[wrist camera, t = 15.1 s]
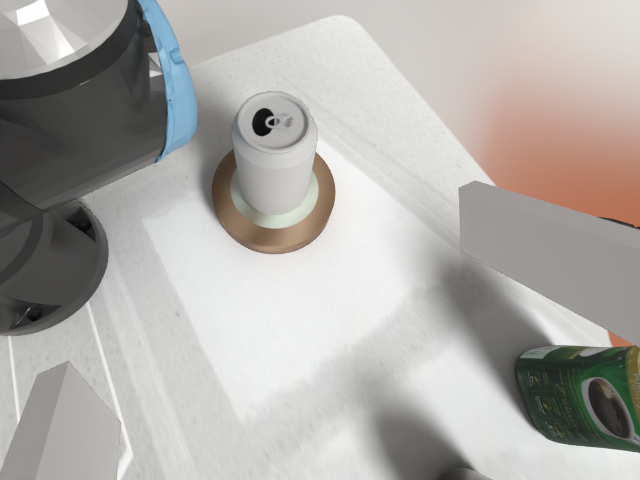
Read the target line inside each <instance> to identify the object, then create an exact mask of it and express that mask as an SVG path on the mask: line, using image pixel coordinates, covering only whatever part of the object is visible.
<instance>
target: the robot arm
mask: <svg viewBox="0 0 640 480" xmlns="http://www.w3.org/2000/svg"><path fill="white" fill-rule="evenodd" d="M197 124H198V109H197V101H196V96H195V91H194V87H193V83H192V80H191V76H190V73H189V70H188V67H187V65H186V63H185V62H184V60H183V59H182V58H181V56H180V50H179V44H178V42H177V39H176V37H175V34H174V33H173V30H172V28H171V26H170V24H169V22H168V20H167V18H166V16H165V14H164V12H163V11H162V9H161V7H160V6H159V4H158V3H157V1H156V0H0V335H2V336H19V335H26V334H31V333H35V332H39V331H42V330H45V329H47V328H50V327H52V326H54V325H56V324H58V323H60V322H62V321H64V320H65V319H67V318H68V317H70V316H71V315H72V314H74V313H75V312H76V311H78V310H79V309H80V308H81V307H82V306H83V305H84V304H85V303H86V302H87V301H88V300H89V299H90V297H91V296H92V295H93V293H94V292H95V291H96V289H97V288H98V286H99V284H100V282H101V280H102V278H103V276H104V273H105V270H106V267H107V262H108V241H107V237H106V234H105V231H104V229H103V227H102V225H101V224H100V222H99V221H98V220H97V218H96V217H95V216H94V215H93V214H92V213H91V212H90V211H88V210H87V209H86V208H85V207H84V206H82V205H81V204H80V203H79V202H77V201H76V200H75V199H77V198H79V197H82V196H84V195H86V194H88V193H90V192H92V191H95V190H97V189H99V188H101V187H103V186H105V185H108V184H110V183H112V182H114V181H116V180H119V179H121V178H123V177H125V176H127V175H129V174H132V173H134V172H136V171H138V170H140V169H142V168H145V167H147V166H149V165H151V164H153V163H158V162H160V161H161V160H163V159H164V158H165V157H166V155H168V154H170V153H171V152H173V151H175V150H177V149H179V148H180V147H182V146H184V145H186V144H187V143H188V142H189V141H190V140H191V139H192V138H193V136H194V134H195V132H196V129H197ZM459 210H460V238H461V252H463V253H465V254H467V255H469V256H471V257H473V258H474V259H476V260H478V261H480V262H482V263H484V264H486V265H487V266H489V267H491V268H493V269H495V270H497V271H499V272H500V273H502V274H504V275H506V276H508V277H510V278H512V279H513V280H515V281H517V282H519V283H521V284H523V285H525V286H526V287H528V288H530V289H532V290H534V291H536V292H538V293H539V294H541V295H543V296H545V297H547V298H549V299H551V300H552V301H554V302H556V303H558V304H560V305H562V306H564V307H565V308H567V309H569V310H571V311H573V312H575V313H577V314H578V315H580V316H582V317H584V318H586V319H588V320H590V321H591V322H593V323H595V324H597V325H599V326H601V327H603V328H604V329H606V330H608V331H610V332H612V333H614V334H616V335H618V336H619V337H621V338H623V339H625V340H627V341H629V342H630V343H633V344H634V345H636V346H638V347H640V227H634V225H632V224H628V223H624V222H621V221H618V220H614V219H610V218H601V217H595V216H591V215H588V214H585V213H581V212H578V211H575V210H572V209H568V208H565V207H561V206H558V205H555V204H551V203H548V202H545V201H541V200H538V199H535V198H531V197H528V196H525V195H521V194H518V193H515V192H511V191H508V190H505V189H501V188H498V187H495V186H491V185H488V184H485V183H481V182H478V181H473V182H471V183H469V184H466V185H464V186H462V187H460V188H459ZM120 432H121V422H120V420H119V419H118V418H117V417H116V416H115V414H114V413H113V412H112V411H111V410H110V409H109V407H108V406H107V405H106V404H105V403H104V401H103V400H102V399H101V398H100V397H99V396H98V394H97V393H96V392H95V391H94V390H93V388H92V387H91V386H90V385H89V384H88V382H87V381H86V380H85V379H84V378H83V377H82V375H81V374H80V373H79V372H78V371H77V369H76V368H75V367H74V366H73V365H72V364H71V362H70V361H67V362H65V363H62V364H60V365H58V366H56V367H53V368H51V369H49V370H47V371H44V372H42V373H40V374H38V375H37V377H36V379H35V382H34V385H33V387H32V390H31V392H30V395H29V398H28V400H27V403H26V406H25V408H24V411H23V413H22V416H21V419H20V421H19V424H18V427H17V429H16V432H15V435H14V437H13V440H12V442H11V445H10V448H9V450H8V453H7V456H6V458H5V461H4V464H3V466H2V469H1V471H0V480H117V469H118V457H119V444H120Z"/></svg>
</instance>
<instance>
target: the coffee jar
mask: <svg viewBox="0 0 640 480" xmlns="http://www.w3.org/2000/svg"><path fill="white" fill-rule="evenodd" d="M516 375H517V380H518V384H519V387H520V391H521V394H522V397H523V399H524V402H525V405H526V407H527V410H528V412H529V414H530V416H531V419H532V421H533V423H534V425H535V426H536V428H537V429H538V430H539V432H540V433H541V434H542V435H543V436H545V437H546V438H547V439H549V440H551V441H554V442H557V443H562V444H568V445H576V446H587V447H598V448H609V449H617V450H625V451H632V452H638V453H640V347H638V346H636V345H634V346H629V347H587V346H566V345H556V346H543V347H538V348H534V349H531V350H529V351H527V352H525V353H523V354H522V355H521V356H520V357H519V359H518V361H517V364H516Z"/></svg>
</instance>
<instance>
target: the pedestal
mask: <svg viewBox="0 0 640 480" xmlns="http://www.w3.org/2000/svg"><path fill="white" fill-rule="evenodd" d="M212 196H213V202H214V205H215V208H216V211H217V214H218V217H219V219H220V221H221V224H222V225H223V227H224V229H225V230H226V231H227V233H228V234H229V235H230V236H231V237H232V238H233V239H234V240H235V241H237V242H238V243H240V244H241V245H243V246H245V247H246V248H248V249H251V250H254V251H256V252H261V253H266V254H283V253H289V252H293V251H296V250H298V249H301V248H303V247H305V246H306V245H308V244H310V243H311V242H312V241H313V240H315V239H316V238H317V237H318V236H319V235H320V233H321V232H322V231H323V229H324V228H325V226H326V224H327V222H328V219H329V217H330V214H331V211H332V208H333V206H334V201H335V184H334V179H333V176H332V174H331V171H330V169H329V167H328V166H327V164H326V163H325V161H324V160H323V159H322V158H321V157H320V156H319V155H318V154H317V153H316V152H315V157H314V162H313V167H312V173H311V178H310V183H309V189H308V192H307V195H306V198H305V200H304V201H303V202H302V204H301V205H300V206H299V207H298V208H296V209H295V210H293V211H292V212H289V213H285V214H282V215H269V214H265V213H262V212H259V211H258V210H256V209H255V208H253V207H252V206H250V204H249V203H248V202H247V201H246V199H245V198H244V196H243V193H242V190H241V185H240V180H239V174H238V169H237V164H236V158H235V153H234V149H233V150H232V151H230V152H229V153H228V154H227V155H226V156H225V157H224V158H223V160H222V161H221V163H220V164H219V166H218V168H217V170H216V172H215V175H214V178H213V183H212Z"/></svg>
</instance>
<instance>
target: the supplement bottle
mask: <svg viewBox="0 0 640 480" xmlns="http://www.w3.org/2000/svg"><path fill="white" fill-rule="evenodd" d="M437 480H492V479H490V478H488V477H486V476H484V475H482V474H480V473H478V472H476V471H474V470H471V469H469V468H465V467H455V468H451V469H449V470H447V471H445V472H444V473H443V474H441V475H440V477H439V478H438V479H437Z"/></svg>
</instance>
